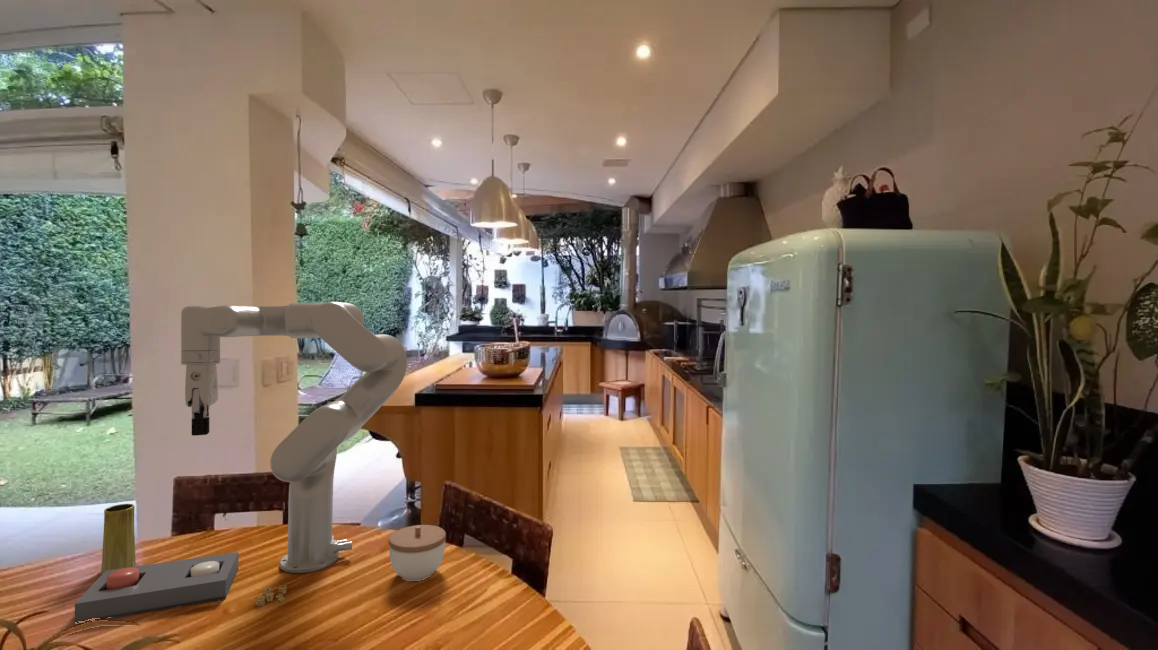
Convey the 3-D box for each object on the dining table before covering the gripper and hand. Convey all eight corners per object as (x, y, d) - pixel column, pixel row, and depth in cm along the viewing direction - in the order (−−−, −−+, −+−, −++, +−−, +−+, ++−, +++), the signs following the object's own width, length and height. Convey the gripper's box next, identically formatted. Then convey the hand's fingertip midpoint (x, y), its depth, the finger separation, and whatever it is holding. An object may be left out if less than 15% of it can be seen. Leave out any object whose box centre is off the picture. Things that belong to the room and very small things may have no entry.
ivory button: (221, 573, 115) (221, 559, 115) (216, 584, 111) (216, 569, 111) (194, 578, 113) (194, 563, 113) (187, 589, 109) (187, 573, 108)
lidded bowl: (375, 581, 116) (376, 532, 116) (413, 557, 128) (414, 513, 128) (421, 593, 111) (422, 542, 111) (456, 567, 123) (456, 521, 123)
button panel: (238, 568, 120) (238, 551, 120) (225, 598, 108) (225, 579, 108) (105, 589, 110) (106, 570, 110) (74, 624, 98) (74, 603, 98)
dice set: (255, 610, 105) (255, 600, 105) (261, 597, 110) (261, 588, 110) (283, 605, 107) (284, 596, 107) (287, 593, 112) (288, 584, 111)
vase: (114, 577, 115) (115, 513, 115) (93, 573, 117) (94, 511, 117) (142, 564, 121) (143, 504, 121) (122, 561, 123) (122, 501, 123)
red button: (142, 580, 109) (142, 565, 109) (133, 592, 105) (133, 576, 105) (112, 585, 107) (112, 570, 107) (101, 597, 103) (102, 581, 103)
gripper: (213, 359, 118) (213, 439, 118) (225, 355, 131) (225, 427, 131) (172, 360, 114) (172, 442, 115) (189, 355, 128) (189, 429, 128)
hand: (200, 434), depth 123 cm, fingers closed
